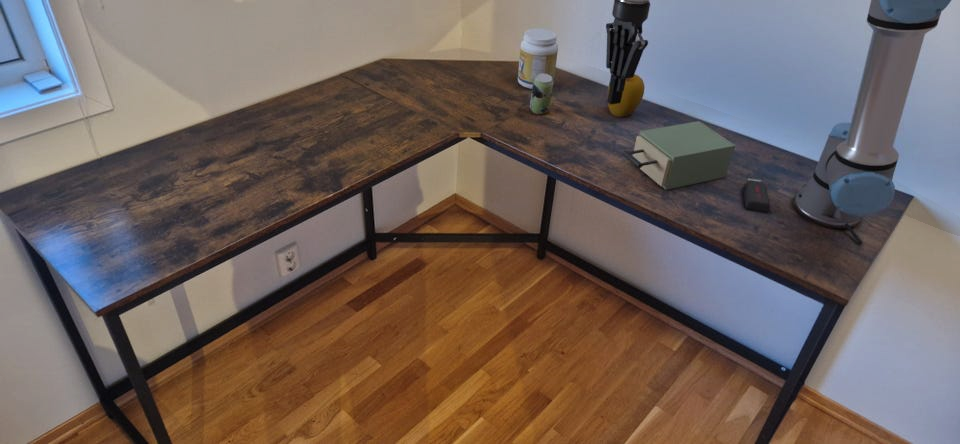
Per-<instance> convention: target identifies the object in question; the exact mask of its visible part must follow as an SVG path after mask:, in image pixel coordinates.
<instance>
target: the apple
mask: <svg viewBox="0 0 960 444" xmlns="http://www.w3.org/2000/svg"><path fill="white" fill-rule="evenodd" d="M609 88H610V81H609V83H608V87H607V93H606V100H608V94H609ZM644 94H645V81H644V80H643V78H642V77H640V75H638V74H636V73H635V74H634V77H633V78H627V79H626V82H625V87H624V91H623V92H622V98H621V103H617V104H609V103H608V102H607V107H608V109H609V112H610V114H611V115H613V116H615V117H618V118H623V117H628V116H630V115H631V114H633V113H634V112H635V111H636V109H637V108H638V107H639V105H640V104H641V102H642V100H643V97H644Z"/></svg>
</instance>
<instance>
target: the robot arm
mask: <svg viewBox="0 0 960 444" xmlns="http://www.w3.org/2000/svg"><path fill="white" fill-rule="evenodd" d="M951 2H952V0H870V4H869V8H868V13H867V17H866V23H867V25H868V26H869V27H870V28H871V30H872V34H871V37H870V42H869V45H868V50H867V53H866V54H867V55H866V59H865V62H864V67H863V70H862V75H861V79H860V84H859V87H858V92H857V96H856V100H855V103H854V108H853V113H852V117H851V120H850V122H838V123H836V124H834V125H833V127H832V128H831V130H830V133H828V135H827V136H828V137H827V139H826V142H825V145H824V147H823V148H822V149H823V150H822V152H821V155H820V157H819V160H818V162H817V164H816V167H815V170H814V172H813V174H812V177H811V178H810V179H809V180H808V181H807V182H806V183H804V185H802V188H801V189H800V190H799V191H798V192H797V194H796V195H795V198H794V200H793V207H794V209H795V210H796V212H797V213H798V214H800V215H801V216H802V217H803V218H805V219H806V220H808V221H809V222H812V223H814V224H817V225H819V226H823V227H826V228H831V229H837V230H838V229H839V230H846V229H847V230H848V232H850V234H851V235H852V236H853V237H854V239H855V240H856V242H857V243H858V244H859V245H861V244H863V241H862V240H861V238H860V237H859V236H858V234H856V232H855V231H854V229H853V228H854V227H857V226H858V225H859V223H860V222H861V219H862V217H866V216H872V215H875V214H877V213H878V212H881V211H883V210H885V209H886V208H887V207H888V206H890V205H891V203H892V201H893V200H894V197H895V191H896V190H895V189H896V186H895V184H894V183H895V182H893V178H894V174H895V172H896V167H897V164H898V160H899V157H900V153H899V152H898V151H897V149H896V148H895V147H894V143H895V141H896V137H897V134H898V130H899V127H900V123H901V120H902V116H903V112H904V109H905V105H906V102H907V98H908V95H909V92H910V88H911V86H912V85H911V84H912V81H913V78H914V75H915V71H916V68H917V64H918V60H919V56H920V53H921V49H922V46H923V43H924V40H925V36H926V34H928V33H929V32H931V31H932V30H934V29H935V28H937V27H938V24H939V21H940V18H941V14H942V12H943V11H944V10H945V9H946V8H947V7H948V6H949V5H950V3H951ZM612 6H613V7H612V12H611V13H612V14H611V15H612V17H613V18H614V19H613V22H609V23H608V22H607V23H606V24H605V30H606V57H605V58H606V60H605V66H606V69H608V70H609V73H610V79H609V82H610V88H609V94H608V100H607V99H606V100H607V104H608V103H609V104H617V103H621V98H622V92H623V91H624V87H625V82H626V79H627V78H633V77H634V74H635V75H636V72H637V69H638V66H639V64H640V61H641V58H642V56H643V53H644V50H645V49H646V48H647V47H648V45H649V40H647V39H644V37H643V36H642V34H643V24H644V23H645V22H646V21H647V20H648V18H649V12H650V8H651V2H650V0H614V1H613V5H612Z"/></svg>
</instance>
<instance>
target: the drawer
mask: <svg viewBox="0 0 960 444" xmlns="http://www.w3.org/2000/svg"><path fill="white" fill-rule="evenodd" d="M622 156H624V157H625V158H626V159H627V160H628V161H629V162H631V164H633V165H634V166H636V168H638V169H640V170H641V171H642V172H643V173H644V174H646V175H647V176H648V177H649V178H650V179H651V180H653V182H655V183H656V184H657V185H659V186H660V187H662V186H665V183H666V179H667V175H668V171H669V168H670V164H671V159H670V158H669V157H668V156H666V155H665V153H664V152H662V151H661V150H660V149H658V148H657V147H656V146H655V145H653V144H652V143H651V142H649V141H648V140H647V139H645V138H643V137H642V136H641V135H640V136H639V135H637V136H636V139H635V143H634V147H633V150H629V151H627V150H623V151H622Z"/></svg>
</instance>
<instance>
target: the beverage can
mask: <svg viewBox="0 0 960 444" xmlns="http://www.w3.org/2000/svg"><path fill="white" fill-rule="evenodd" d="M553 88H554V83H553V80H552V77H551V76H550V75H548V74H544V73H541V74H538V75H537V76H536V77H535V78H534V80H533V87H532V89H531V95H530V101H529V110H530V111H531V112H532V113H534V114H537V115H544V114H546V113H548V112H549V111H550V107H551V100H552V94H553Z"/></svg>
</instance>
